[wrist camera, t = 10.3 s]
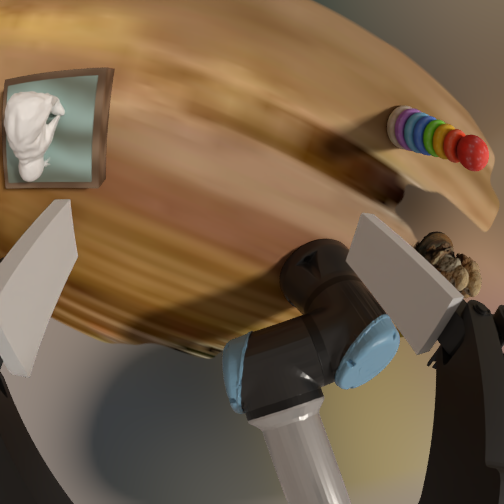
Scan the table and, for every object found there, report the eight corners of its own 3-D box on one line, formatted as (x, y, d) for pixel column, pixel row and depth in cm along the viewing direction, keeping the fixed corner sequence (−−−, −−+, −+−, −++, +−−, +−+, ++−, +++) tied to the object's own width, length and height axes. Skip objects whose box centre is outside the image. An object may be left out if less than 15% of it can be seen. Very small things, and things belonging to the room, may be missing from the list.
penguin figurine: (40, 97, 19) (33, 203, 25) (72, 86, 25) (59, 173, 32) (-4, 95, 16) (-7, 196, 23) (32, 83, 23) (23, 167, 29)
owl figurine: (400, 261, 60) (445, 310, 46) (429, 220, 56) (481, 262, 42) (433, 280, 68) (470, 321, 54) (457, 246, 63) (499, 283, 49)
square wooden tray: (105, 178, 37) (97, 189, 34) (17, 179, 33) (4, 189, 29) (114, 68, 29) (106, 67, 26) (18, 78, 25) (3, 80, 21)
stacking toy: (408, 153, 45) (484, 195, 30) (378, 137, 43) (460, 176, 27) (422, 117, 42) (503, 148, 26) (394, 97, 39) (481, 121, 24)
